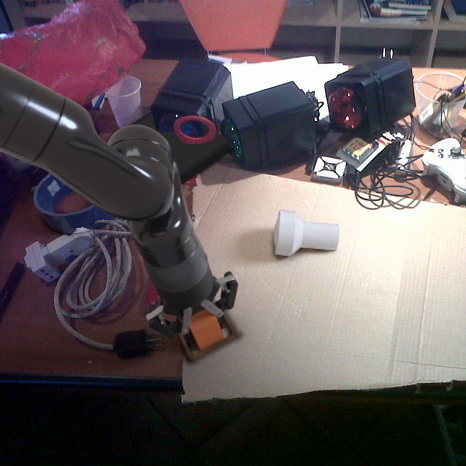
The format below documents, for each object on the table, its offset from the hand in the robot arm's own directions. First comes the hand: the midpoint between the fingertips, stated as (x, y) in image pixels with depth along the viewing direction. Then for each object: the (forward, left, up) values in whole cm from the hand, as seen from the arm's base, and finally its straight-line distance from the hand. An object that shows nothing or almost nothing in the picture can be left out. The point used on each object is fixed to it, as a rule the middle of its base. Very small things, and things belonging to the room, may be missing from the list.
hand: (206, 331), depth 76 cm
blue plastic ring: (-10, +40, -2) cm, 41 cm away
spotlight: (+22, +8, -2) cm, 24 cm away
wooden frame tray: (0, +6, -2) cm, 6 cm away
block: (0, 0, -1) cm, 1 cm away
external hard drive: (+12, +48, -2) cm, 50 cm away
